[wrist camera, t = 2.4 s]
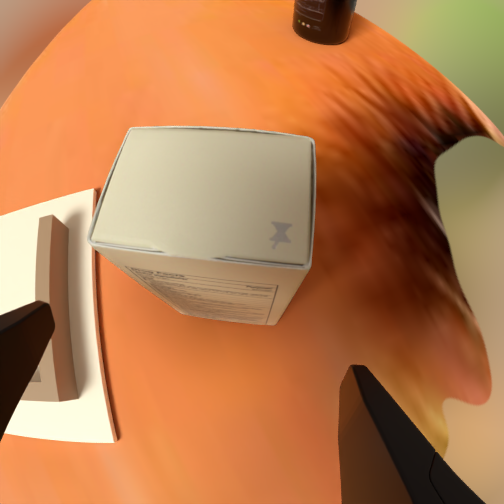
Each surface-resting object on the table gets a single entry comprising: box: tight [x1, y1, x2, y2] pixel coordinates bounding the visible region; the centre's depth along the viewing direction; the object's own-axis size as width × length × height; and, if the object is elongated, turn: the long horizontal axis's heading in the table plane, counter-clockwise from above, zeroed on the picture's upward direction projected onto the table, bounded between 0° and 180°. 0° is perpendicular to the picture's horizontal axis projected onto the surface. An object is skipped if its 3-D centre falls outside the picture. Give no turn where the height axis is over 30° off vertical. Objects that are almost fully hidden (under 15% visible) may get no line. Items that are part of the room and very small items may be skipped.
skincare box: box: [87, 126, 316, 325], centre depth 14 cm, size 6×4×12 cm
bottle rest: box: [0, 188, 117, 443], centre depth 17 cm, size 18×16×3 cm
